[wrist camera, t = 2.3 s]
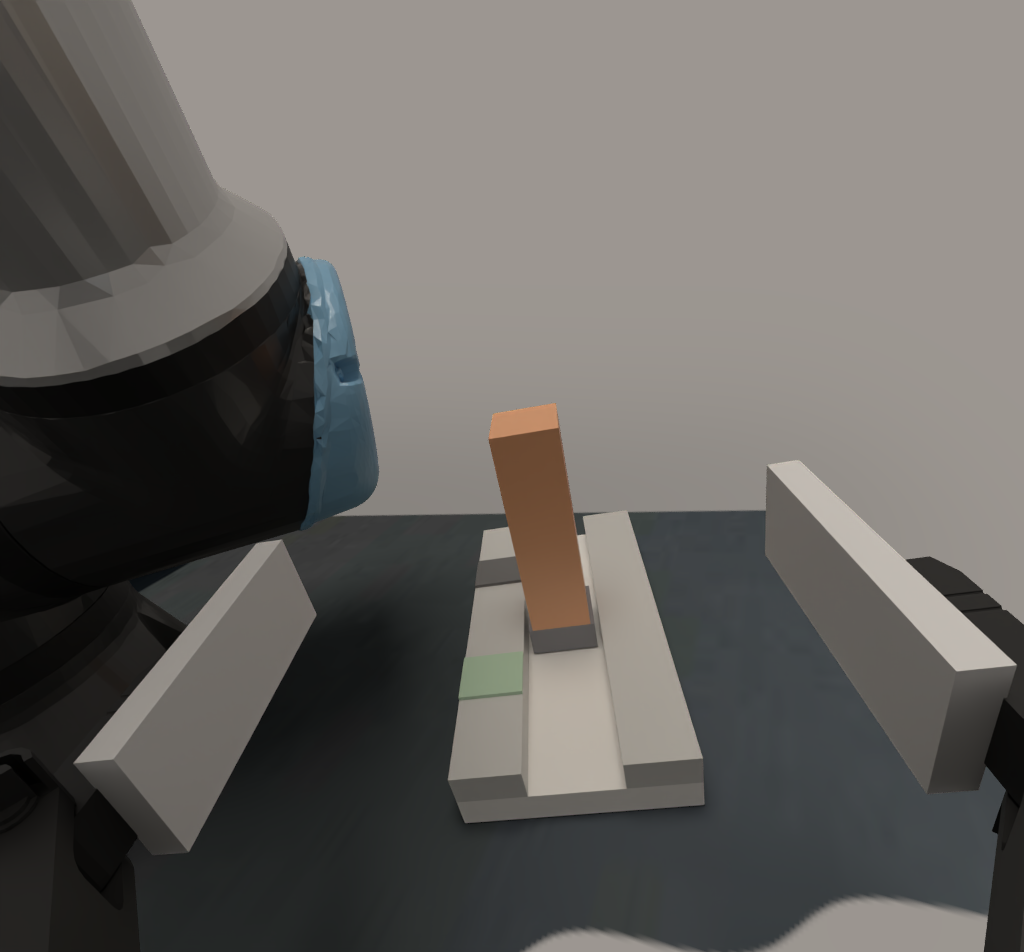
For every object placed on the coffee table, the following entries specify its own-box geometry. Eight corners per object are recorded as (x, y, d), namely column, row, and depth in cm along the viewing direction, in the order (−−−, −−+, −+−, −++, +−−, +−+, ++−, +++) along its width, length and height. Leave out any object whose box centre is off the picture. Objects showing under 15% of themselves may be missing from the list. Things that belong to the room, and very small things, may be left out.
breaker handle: (597, 646, 28) (563, 427, 22) (534, 653, 28) (483, 439, 22) (592, 607, 30) (559, 402, 25) (533, 614, 31) (488, 414, 25)
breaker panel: (704, 804, 21) (702, 754, 20) (464, 823, 22) (446, 777, 21) (630, 545, 37) (626, 507, 36) (492, 564, 38) (483, 528, 37)
